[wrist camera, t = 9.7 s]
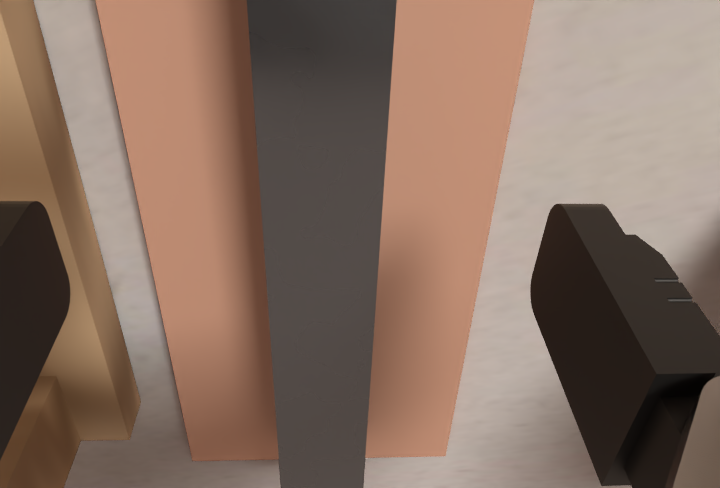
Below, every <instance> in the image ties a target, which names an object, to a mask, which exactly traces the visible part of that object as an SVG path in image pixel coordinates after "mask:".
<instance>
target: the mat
mask: <svg viewBox="0 0 720 488" xmlns="http://www.w3.org/2000/svg"><path fill="white" fill-rule="evenodd" d="M95 1H96V5H97V10H98V15H99V20H100V24H101V29H102V34H103V39H104V43H105V48H106V53H107V58H108V62H109V67H110V72H111V77H112V81H113V86H114V91H115V96H116V100H117V105H118V110H119V115H120V119H121V124H122V129H123V134H124V138H125V143H126V148H127V153H128V157H129V162H130V167H131V171H132V176H133V181H134V186H135V190H136V195H137V200H138V205H139V209H140V214H141V219H142V224H143V228H144V233H145V238H146V243H147V247H148V252H149V257H150V262H151V266H152V271H153V276H154V281H155V285H156V290H157V295H158V300H159V304H160V309H161V314H162V319H163V323H164V328H165V333H166V338H167V342H168V347H169V352H170V357H171V361H172V366H173V371H174V376H175V380H176V385H177V390H178V395H179V399H180V404H181V409H182V414H183V418H184V423H185V428H186V433H187V437H188V442H189V447H190V452H191V456H192V461H220V460H272V459H279V455H278V441H277V426H276V412H275V398H274V384H273V369H272V355H271V341H270V327H269V312H268V298H267V284H266V269H265V255H264V241H263V227H262V212H261V198H260V184H259V170H258V155H257V141H256V127H255V113H254V98H253V84H252V70H251V55H250V41H249V27H248V13H247V0H95ZM533 4H534V0H397V3H396V18H395V32H394V47H393V62H392V76H391V91H390V105H389V120H388V134H387V149H386V164H385V178H384V193H383V207H382V222H381V236H380V251H379V265H378V280H377V295H376V309H375V324H374V338H373V353H372V367H371V382H370V397H369V411H368V426H367V440H366V455H365V458H375V457H427V456H445V455H446V450H447V445H448V440H449V435H450V429H451V424H452V419H453V414H454V409H455V404H456V399H457V394H458V388H459V383H460V378H461V373H462V368H463V363H464V358H465V353H466V347H467V342H468V337H469V332H470V327H471V322H472V317H473V311H474V306H475V301H476V296H477V291H478V286H479V281H480V276H481V270H482V265H483V260H484V255H485V250H486V245H487V240H488V235H489V229H490V224H491V219H492V214H493V209H494V204H495V199H496V194H497V188H498V183H499V178H500V173H501V168H502V163H503V158H504V153H505V147H506V142H507V137H508V132H509V127H510V122H511V117H512V111H513V106H514V101H515V96H516V91H517V86H518V81H519V76H520V70H521V65H522V60H523V55H524V50H525V45H526V40H527V35H528V29H529V24H530V19H531V14H532V9H533Z"/></svg>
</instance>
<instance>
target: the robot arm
mask: <svg viewBox="0 0 720 488" xmlns="http://www.w3.org/2000/svg"><path fill="white" fill-rule="evenodd" d="M678 279H679V278H678V277H677V275H676V274H675V272H674V271H673V270H672V268H671V267H670V265H669V264H668V262H667V261H666V260H665V258H664V257H663V255H662V254H660V253H659V252H658V251H656V250H655V249H654V248H652V247H651V246H650V245H648V244H647V243H646V242H644V241H643V240H642V239H640V238H639V237H638V236H636V235H625V233H624V232H623V230H622V229H621V227H620V226H619V224H618V223H617V221H616V220H615V218H614V217H613V215H612V214H611V212H610V211H609V209H608V208H607V207H606V206H605V205H603V204H556V205H554V206H553V207H552V209H551V211H550V213H549V216H548V219H547V223H546V226H545V230H544V234H543V237H542V241H541V245H540V249H539V252H538V256H537V260H536V263H535V267H534V271H533V274H532V279H531V304H532V309H533V313H534V316H535V318H536V321H537V323H538V326H539V328H540V331H541V333H542V336H543V338H544V341H545V343H546V346H547V349H548V351H549V354H550V356H551V359H552V361H553V364H554V366H555V369H556V371H557V374H558V376H559V379H560V382H561V384H562V387H563V389H564V392H565V394H566V397H567V399H568V402H569V404H570V407H571V409H572V412H573V415H574V417H575V420H576V422H577V425H578V427H579V430H580V432H581V435H582V437H583V440H584V442H585V445H586V448H587V450H588V453H589V455H590V458H591V460H592V463H593V465H594V468H595V470H596V473H597V476H598V478H599V481H600V483H601V486H613V485H632V488H720V336H719V335H718V333H717V332H716V331H715V329H714V328H713V326H712V325H711V323H710V322H709V321H708V319H707V318H706V316H705V315H704V314H703V312H702V311H701V309H700V308H699V306H698V305H697V304H696V303H692V297H691V295H690V294H689V292H688V291H687V289H686V288H685V287H684V285H683V284H682V283H679V282H678ZM69 305H70V282H69V277H68V274H67V271H66V268H65V264H64V261H63V258H62V255H61V252H60V249H59V246H58V243H57V240H56V237H55V233H54V230H53V227H52V224H51V221H50V218H49V215H48V212H47V210H46V208H45V207H44V205H43V204H42V203H40V202H38V201H0V460H1V458H2V456H3V454H4V451H5V449H6V447H7V445H8V443H9V440H10V438H11V436H12V434H13V432H14V430H15V427H16V425H17V423H18V421H19V419H20V417H21V414H22V412H23V410H24V408H25V406H26V403H27V401H28V399H29V397H30V395H31V393H32V390H33V388H34V386H35V384H36V382H37V380H38V377H39V375H40V373H41V371H42V369H43V366H44V364H45V362H46V360H47V358H48V356H49V353H50V351H51V349H52V347H53V345H54V343H55V340H56V338H57V336H58V334H59V332H60V329H61V327H62V325H63V323H64V321H65V319H66V316H67V313H68V310H69Z"/></svg>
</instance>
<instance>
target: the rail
mask: <svg viewBox="0 0 720 488" xmlns="http://www.w3.org/2000/svg"><path fill="white" fill-rule="evenodd" d="M396 3H397V0H247V13H248V27H249V41H250V55H251V70H252V84H253V98H254V113H255V127H256V141H257V155H258V170H259V184H260V198H261V212H262V227H263V241H264V255H265V269H266V284H267V298H268V312H269V327H270V341H271V355H272V369H273V384H274V398H275V412H276V426H277V441H278V455H279V469H280V483H281V488H363V484H364V469H365V455H366V440H367V426H368V411H369V397H370V382H371V367H372V353H373V338H374V324H375V309H376V295H377V280H378V265H379V251H380V236H381V222H382V207H383V193H384V178H385V164H386V149H387V134H388V120H389V105H390V91H391V76H392V62H393V47H394V32H395V18H396Z"/></svg>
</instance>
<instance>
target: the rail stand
mask: <svg viewBox="0 0 720 488" xmlns="http://www.w3.org/2000/svg"><path fill="white" fill-rule="evenodd" d="M0 201H38V202H40V203H42V204H43V205H44V207H45V208H46V210H47V212H48V215H49V218H50V221H51V224H52V227H53V230H54V233H55V237H56V240H57V243H58V246H59V249H60V252H61V255H62V258H63V261H64V264H65V268H66V271H67V274H68V277H69V282H70V305H69V310H68V313H67V316H66V319H65V321H64V323H63V325H62V327H61V329H60V332H59V334H58V336H57V338H56V340H55V343H54V345H53V347H52V349H51V351H50V353H49V356H48V358H47V360H46V362H45V364H44V366H43V369H42V371H41V373H40V375H39V377H38V380H37V382H36V384H35V386H34V388H33V390H32V393H31V395H30V397H29V399H28V401H27V403H26V406H25V408H24V410H23V412H22V414H21V417H20V419H19V421H18V423H17V425H16V427H15V430H14V432H13V434H12V436H11V438H10V440H9V443H8V445H7V447H6V449H5V451H4V454H3V456H2V458H1V460H0V488H64V485H65V482H66V480H67V477H68V474H69V471H70V469H71V466H72V463H73V461H74V458H75V455H76V452H77V450H78V447H79V444H80V442H81V441H91V440H130V437H131V433H132V430H133V426H134V423H135V420H136V416H137V413H138V410H139V406H140V403H141V401H140V397H139V393H138V390H137V386H136V382H135V378H134V375H133V371H132V367H131V363H130V360H129V356H128V352H127V349H126V345H125V341H124V337H123V334H122V330H121V326H120V322H119V319H118V315H117V311H116V308H115V304H114V300H113V296H112V293H111V289H110V285H109V282H108V278H107V274H106V270H105V267H104V263H103V259H102V255H101V252H100V248H99V244H98V241H97V237H96V233H95V229H94V226H93V222H92V218H91V214H90V211H89V207H88V203H87V200H86V196H85V192H84V188H83V185H82V181H81V177H80V173H79V170H78V166H77V162H76V159H75V155H74V151H73V147H72V144H71V140H70V136H69V132H68V129H67V125H66V121H65V118H64V114H63V110H62V106H61V103H60V99H59V95H58V92H57V88H56V84H55V80H54V77H53V73H52V69H51V65H50V62H49V58H48V54H47V51H46V47H45V43H44V39H43V36H42V32H41V28H40V24H39V21H38V17H37V13H36V10H35V6H34V2H33V0H0Z"/></svg>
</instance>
